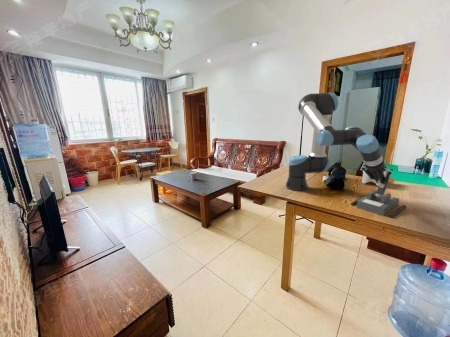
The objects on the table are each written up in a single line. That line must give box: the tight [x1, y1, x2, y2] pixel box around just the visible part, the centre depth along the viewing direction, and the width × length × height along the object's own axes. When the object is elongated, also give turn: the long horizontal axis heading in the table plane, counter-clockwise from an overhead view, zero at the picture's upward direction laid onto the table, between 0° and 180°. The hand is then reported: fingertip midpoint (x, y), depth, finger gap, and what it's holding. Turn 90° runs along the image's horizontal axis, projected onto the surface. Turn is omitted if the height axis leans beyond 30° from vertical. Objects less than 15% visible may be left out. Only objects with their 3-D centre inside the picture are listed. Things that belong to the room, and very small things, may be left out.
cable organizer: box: [361, 170, 386, 187], centre depth 139 cm, size 15×11×12 cm
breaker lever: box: [374, 177, 396, 199], centre depth 104 cm, size 2×7×13 cm
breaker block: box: [356, 189, 400, 216], centre depth 104 cm, size 20×12×8 cm, turn 122°
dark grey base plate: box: [350, 194, 407, 219], centre depth 105 cm, size 18×19×1 cm
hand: (382, 186), depth 103 cm, fingers closed
